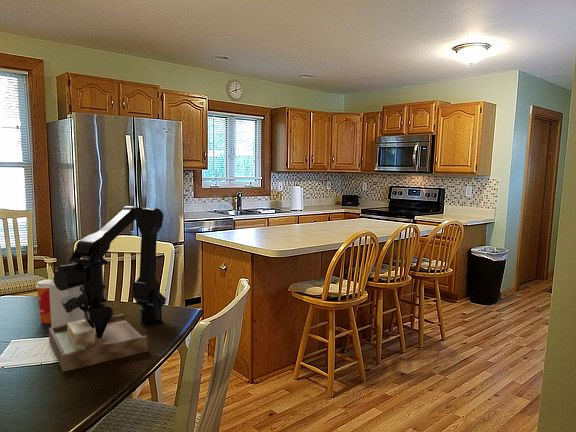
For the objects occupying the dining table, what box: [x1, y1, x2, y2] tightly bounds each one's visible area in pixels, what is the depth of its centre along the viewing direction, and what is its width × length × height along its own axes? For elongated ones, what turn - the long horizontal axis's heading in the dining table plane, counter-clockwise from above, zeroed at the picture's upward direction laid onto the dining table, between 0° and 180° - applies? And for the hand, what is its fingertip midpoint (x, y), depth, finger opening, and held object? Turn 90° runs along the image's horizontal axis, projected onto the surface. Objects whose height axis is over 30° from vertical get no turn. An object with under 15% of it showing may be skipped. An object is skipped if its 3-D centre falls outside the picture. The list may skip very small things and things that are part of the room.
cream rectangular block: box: [67, 318, 95, 349], centre depth 124 cm, size 5×12×4 cm, turn 37°
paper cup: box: [35, 278, 53, 324], centre depth 148 cm, size 8×8×14 cm
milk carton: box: [49, 277, 85, 328], centre depth 142 cm, size 7×7×19 cm
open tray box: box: [48, 313, 149, 373], centre depth 127 cm, size 22×24×4 cm
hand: (95, 333), depth 126 cm, fingers open, 9 cm apart
